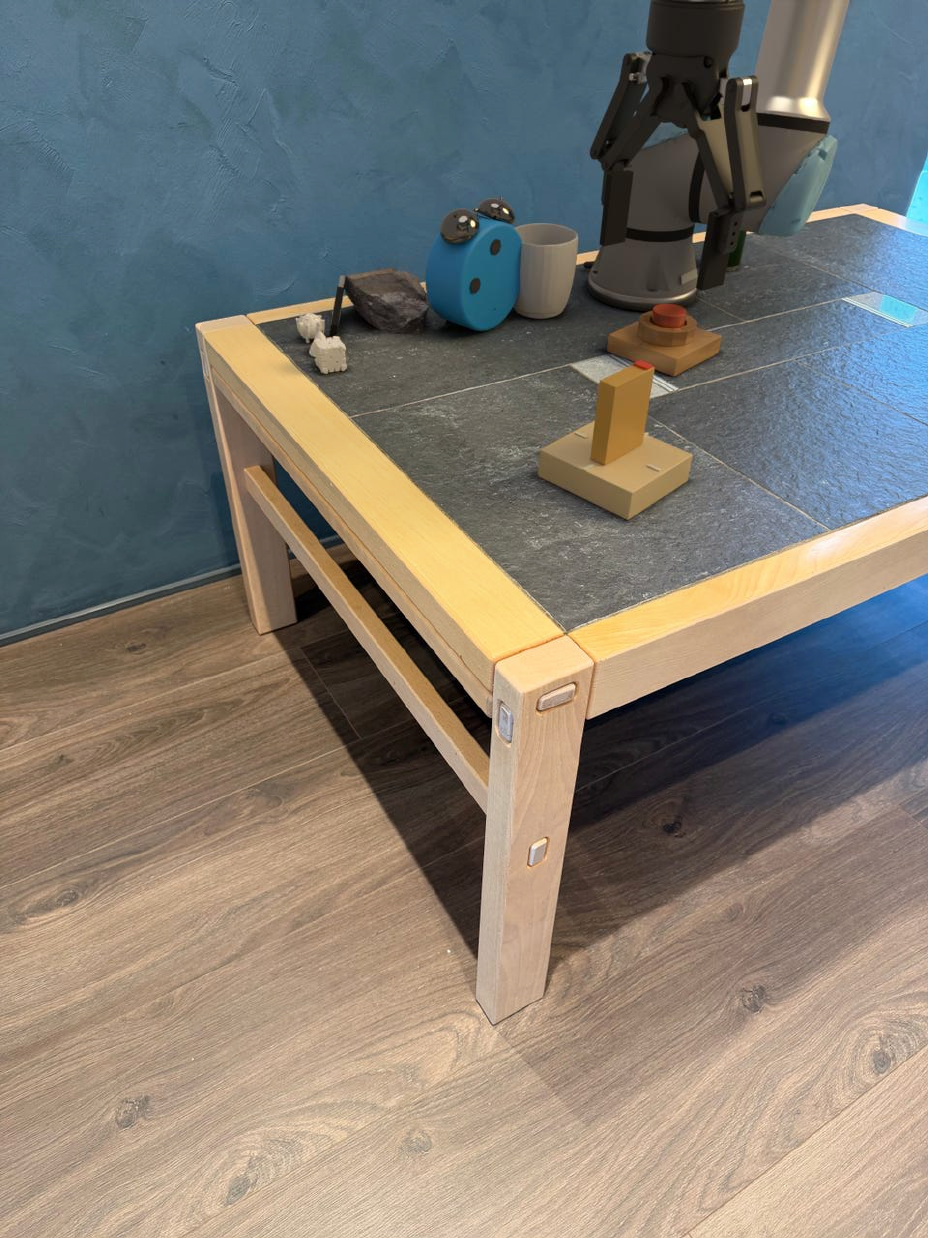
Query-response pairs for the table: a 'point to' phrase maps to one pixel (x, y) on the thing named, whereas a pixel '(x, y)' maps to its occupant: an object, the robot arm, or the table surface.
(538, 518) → the table surface
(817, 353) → the table surface
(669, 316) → the button
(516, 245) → the alarm clock
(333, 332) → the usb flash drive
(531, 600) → the table surface
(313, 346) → the game pieces
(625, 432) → the lock knob
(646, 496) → the panel
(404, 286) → the rock
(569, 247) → the mug
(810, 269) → the table surface
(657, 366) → the button block
